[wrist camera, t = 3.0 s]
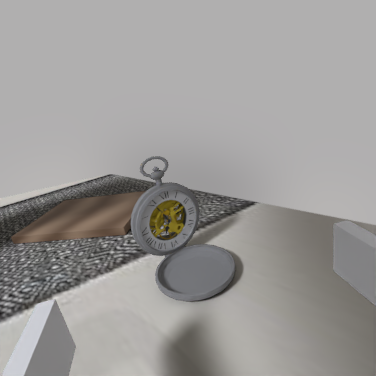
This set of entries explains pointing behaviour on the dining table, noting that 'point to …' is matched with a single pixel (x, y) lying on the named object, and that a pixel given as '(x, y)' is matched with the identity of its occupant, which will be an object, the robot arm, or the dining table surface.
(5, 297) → the dining table surface
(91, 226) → the walnut board
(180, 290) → the pocket watch
